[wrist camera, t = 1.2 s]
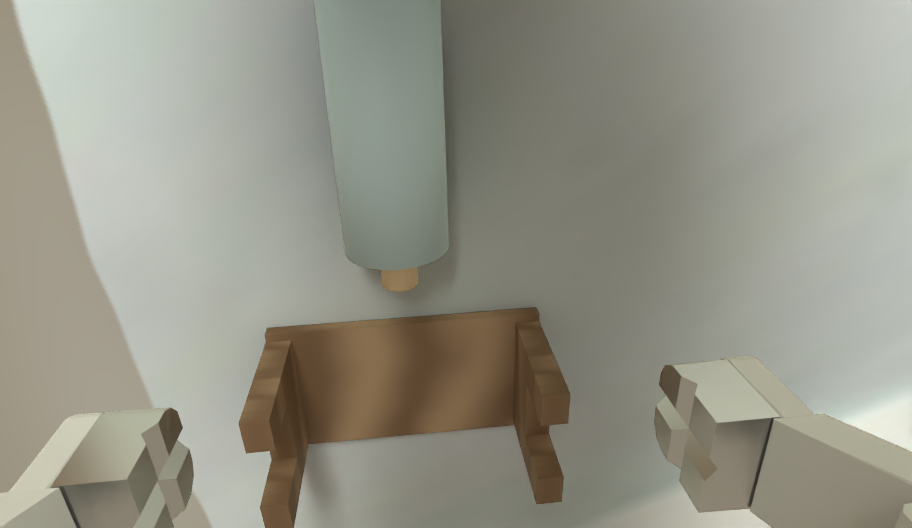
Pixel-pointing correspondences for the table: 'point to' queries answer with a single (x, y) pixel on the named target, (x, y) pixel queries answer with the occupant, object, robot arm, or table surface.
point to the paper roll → (387, 131)
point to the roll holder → (402, 391)
